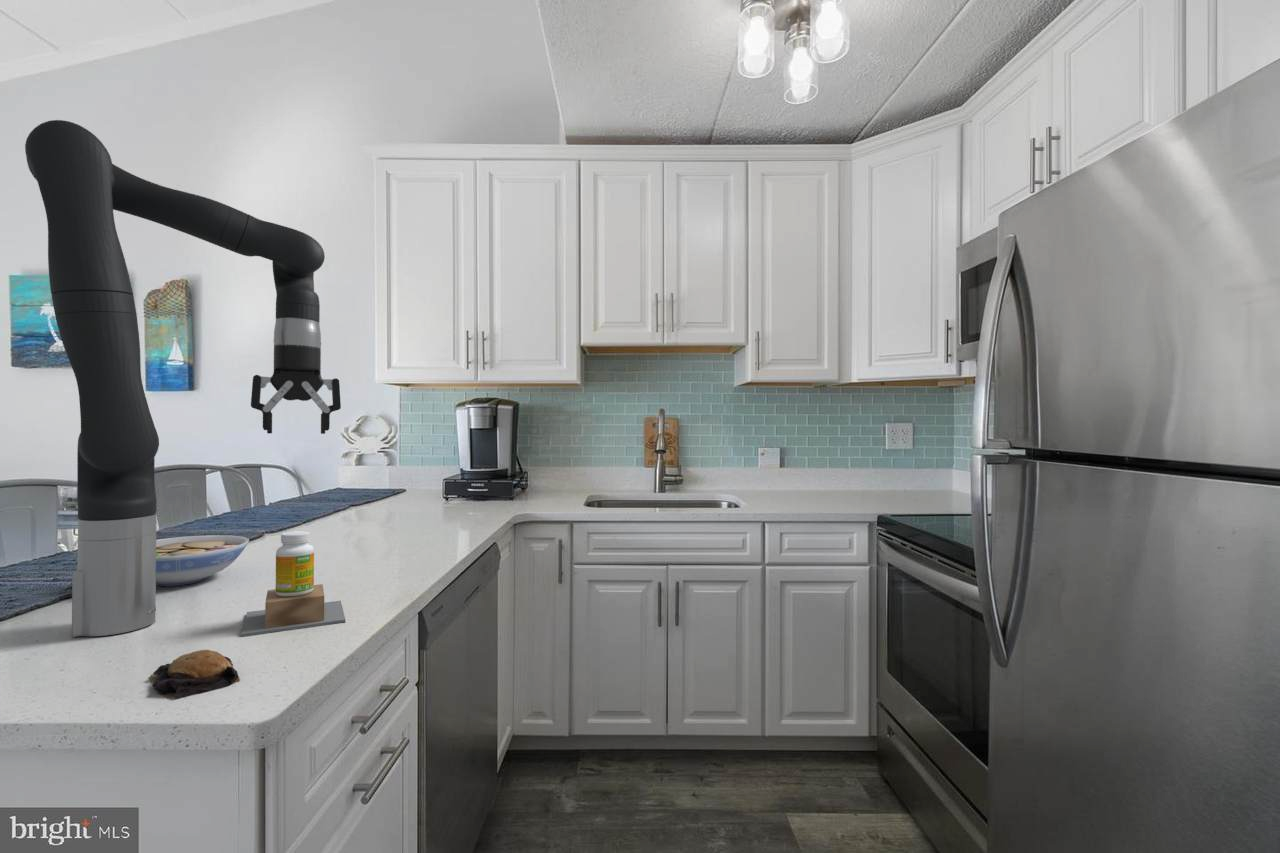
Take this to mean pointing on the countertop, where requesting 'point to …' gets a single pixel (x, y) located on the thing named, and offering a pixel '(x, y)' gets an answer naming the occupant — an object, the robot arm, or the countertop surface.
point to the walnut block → (294, 608)
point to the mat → (257, 625)
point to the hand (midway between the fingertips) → (296, 433)
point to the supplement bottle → (294, 565)
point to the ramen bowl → (195, 557)
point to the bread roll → (194, 674)
